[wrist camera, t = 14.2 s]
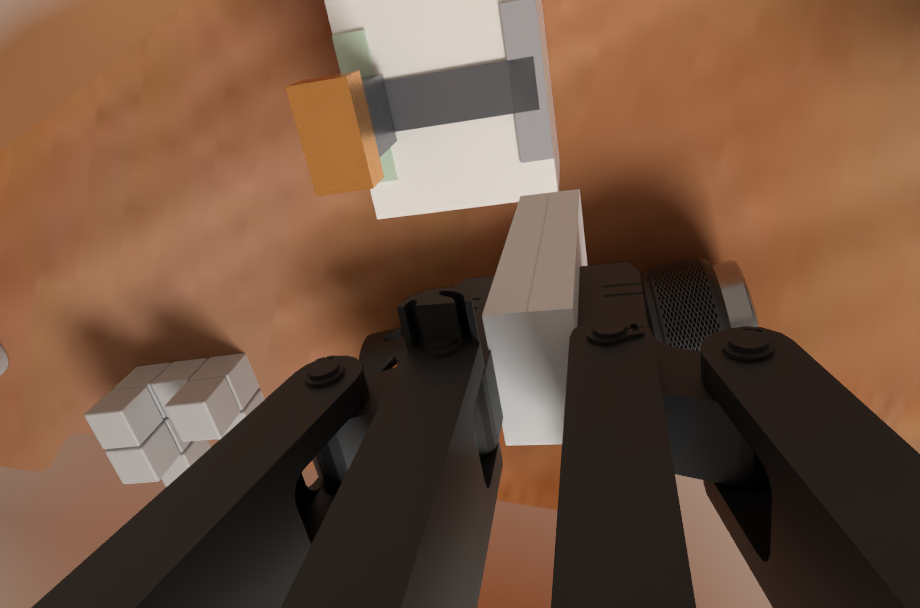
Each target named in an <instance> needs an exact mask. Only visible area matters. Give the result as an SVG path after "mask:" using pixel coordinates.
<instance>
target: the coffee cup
mask: <svg viewBox="0 0 920 608" xmlns="http://www.w3.org/2000/svg"><path fill="white" fill-rule="evenodd" d="M7 367H8V357H7V354H6V352H5V350H4V349H3V347H2V346H1V345H0V376H1V375H2V374H3V373H4V372H5V371H6V369H7Z"/></svg>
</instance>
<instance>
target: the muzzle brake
mask: <svg viewBox="0 0 920 608" xmlns="http://www.w3.org/2000/svg"><path fill="white" fill-rule="evenodd" d="M640 278H641V285H642V290H643V297H644V303H645V309H646V316H647V322H648V326H649V328H650V330H651V331H652V336H653V337H654V338H655V339H656V340H658V341H660V342H662V343H664V344H666V345H669V346H672V347H675V348H680V349H685V350H693V351H700V348H701V345H702V343H703V341H704V339H706V338H707V337H709V336H710V335H711V334H713V333H715V332H718V331H721V330H725V329H728V328H737V327H742V326H752V327H759V325H758V321H757V317H756V313H755V309H754V305H753V302H752V298H751V295H750V292H749V289H748V286H747V283H746V280H745V278H744V276H743V273H742V271H741V269H740V267H739V266H738V265H737V263H736V262H735V261H727V262H722V263H718V264H713V265H712V264H711V262H710V261H709V260H707V259H704V258H700V257H696V258H692V259H687V260H683V261H678V262H674V263H669V264H665V265H660V266H656V267H651V268H648V270H647V271H646V272H645V273H641V274H640ZM406 350H407V346H406V342H405V338H404V334H403V330H402V327H400V328H396V329H391V330H387V331H382V332H378V333H373V334H371V335H369V336H367V338H366V339H365V341H364V343H363V345H362V348H361V351H360V355H359V361H360V362H361V363H362V366H363V369H364V373H365V375H368V374H373V373H377V372H381V371H385V370H389V369H392V367H393V366H394V365H395V364H397V367H399V365H400V362H401V360H402V358H403V356H404V354H405V352H406Z"/></svg>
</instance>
